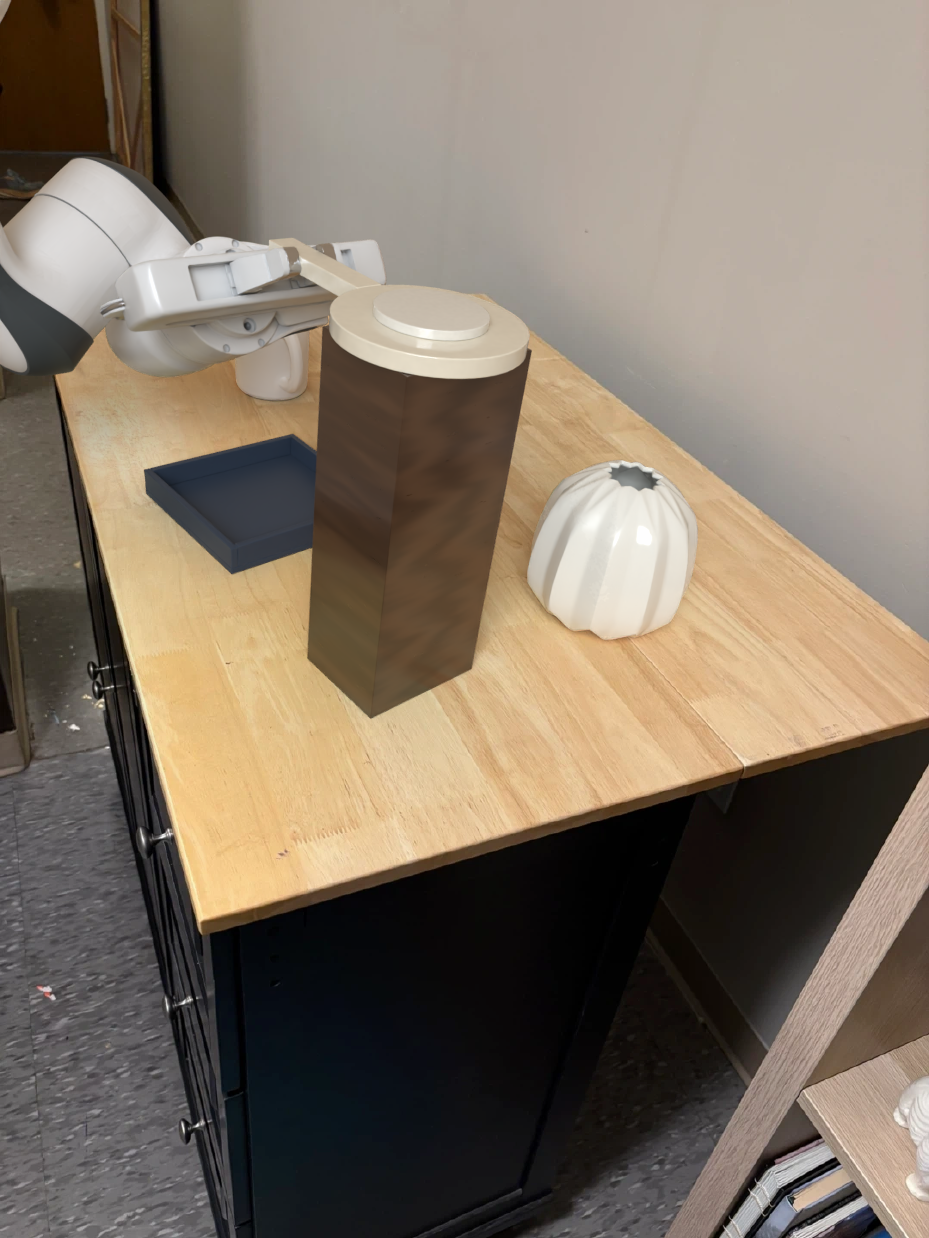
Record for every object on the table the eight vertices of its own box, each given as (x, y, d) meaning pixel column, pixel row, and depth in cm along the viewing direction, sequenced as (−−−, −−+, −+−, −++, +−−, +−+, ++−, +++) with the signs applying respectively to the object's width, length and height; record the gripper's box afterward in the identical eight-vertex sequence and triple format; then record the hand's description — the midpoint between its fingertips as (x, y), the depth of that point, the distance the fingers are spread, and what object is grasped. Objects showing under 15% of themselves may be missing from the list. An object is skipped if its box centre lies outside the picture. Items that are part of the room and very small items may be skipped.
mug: (331, 412, 104) (336, 324, 98) (261, 420, 100) (262, 328, 94) (291, 370, 112) (294, 285, 106) (225, 375, 108) (224, 288, 102)
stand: (370, 719, 66) (406, 377, 50) (306, 658, 70) (322, 326, 54) (471, 669, 72) (532, 350, 56) (407, 616, 76) (447, 306, 60)
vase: (704, 634, 80) (755, 501, 72) (583, 676, 73) (624, 535, 65) (605, 552, 88) (640, 425, 80) (487, 583, 81) (513, 448, 73)
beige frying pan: (416, 394, 48) (420, 362, 47) (203, 264, 60) (202, 235, 59) (566, 359, 55) (572, 330, 54) (349, 249, 67) (351, 223, 66)
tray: (231, 574, 77) (231, 549, 75) (145, 493, 85) (143, 469, 84) (382, 524, 87) (384, 500, 85) (292, 456, 95) (292, 433, 93)
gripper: (77, 271, 65) (152, 217, 54) (317, 248, 77) (417, 200, 66) (105, 361, 66) (183, 326, 56) (336, 325, 78) (436, 290, 68)
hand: (312, 257), depth 61 cm, fingers closed on beige frying pan, 2 cm apart
